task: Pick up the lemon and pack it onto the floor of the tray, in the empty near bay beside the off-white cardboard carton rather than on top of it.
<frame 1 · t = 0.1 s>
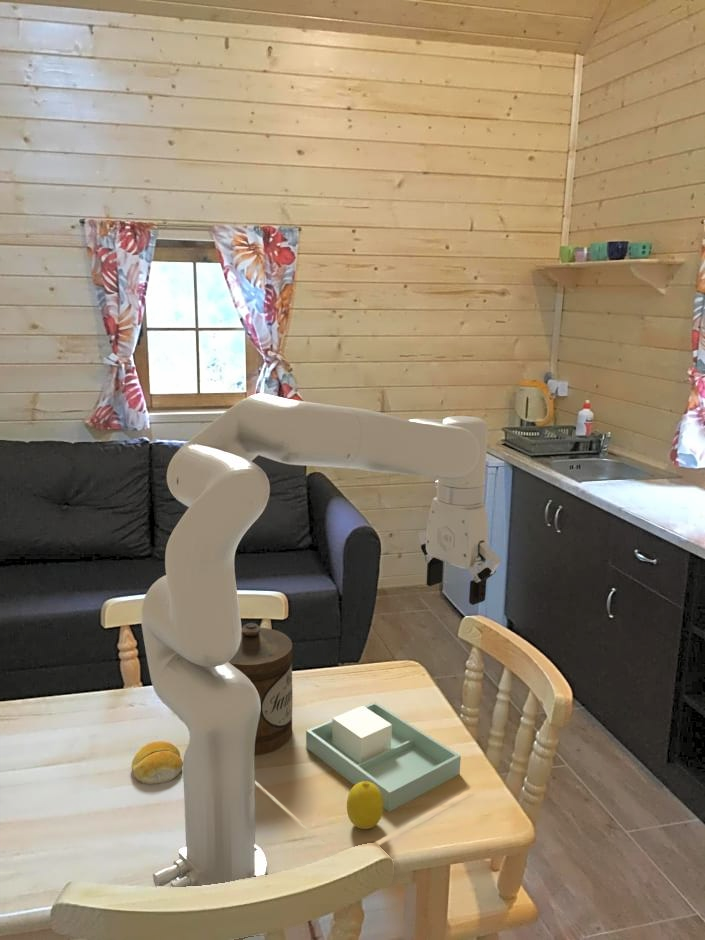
hand: (455, 593, 133), 31 cm above the table, fingers open, 9 cm apart
tray: (381, 763, 139), on the table
lemon: (364, 829, 122), on the table
carton: (361, 746, 142), point 1 cm above the table, touching tray
bread roll: (158, 771, 136), on the table
wooden container: (251, 736, 146), on the table
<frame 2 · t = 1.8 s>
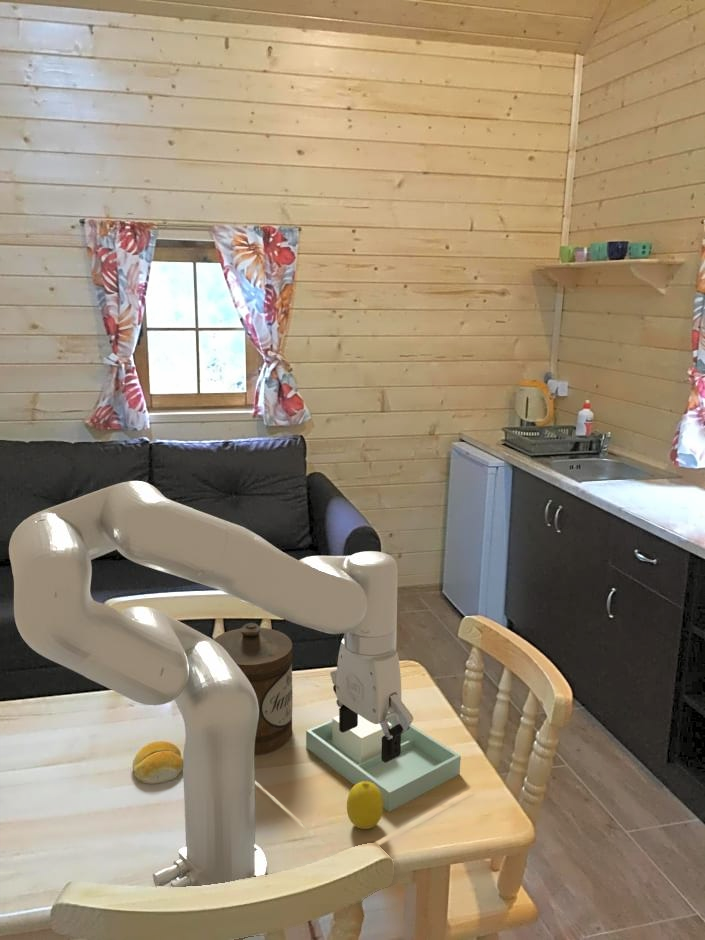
hand: (369, 743, 119), 14 cm above the table, fingers open, 9 cm apart
nothing on the table moved.
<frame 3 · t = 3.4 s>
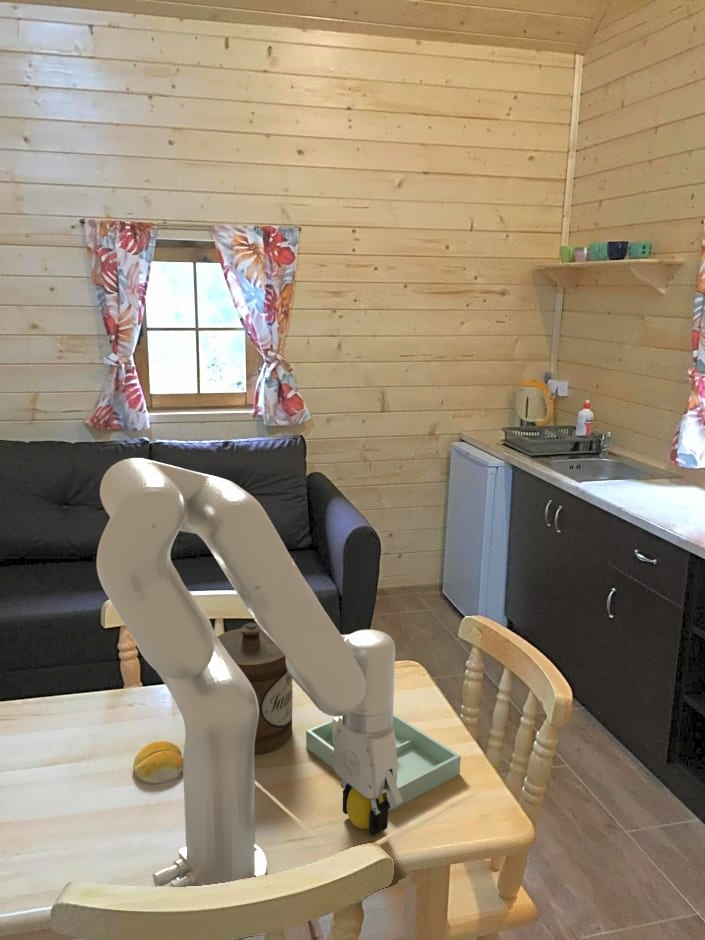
hand: (364, 819, 122), 2 cm above the table, fingers closed on lemon, 5 cm apart
lemon: (364, 829, 122), on the table, touching gripper
everything else where it was.
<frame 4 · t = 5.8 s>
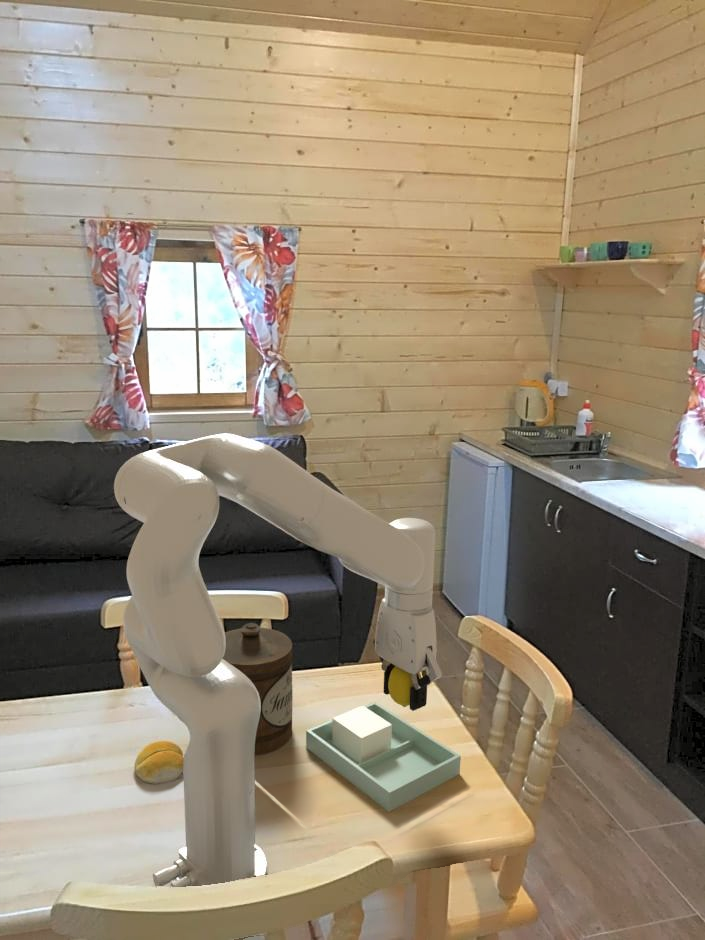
hand: (404, 698, 131), 15 cm above the table, fingers closed on lemon, 5 cm apart
lemon: (404, 707, 131), point 13 cm above the table, touching gripper
everything else where it was.
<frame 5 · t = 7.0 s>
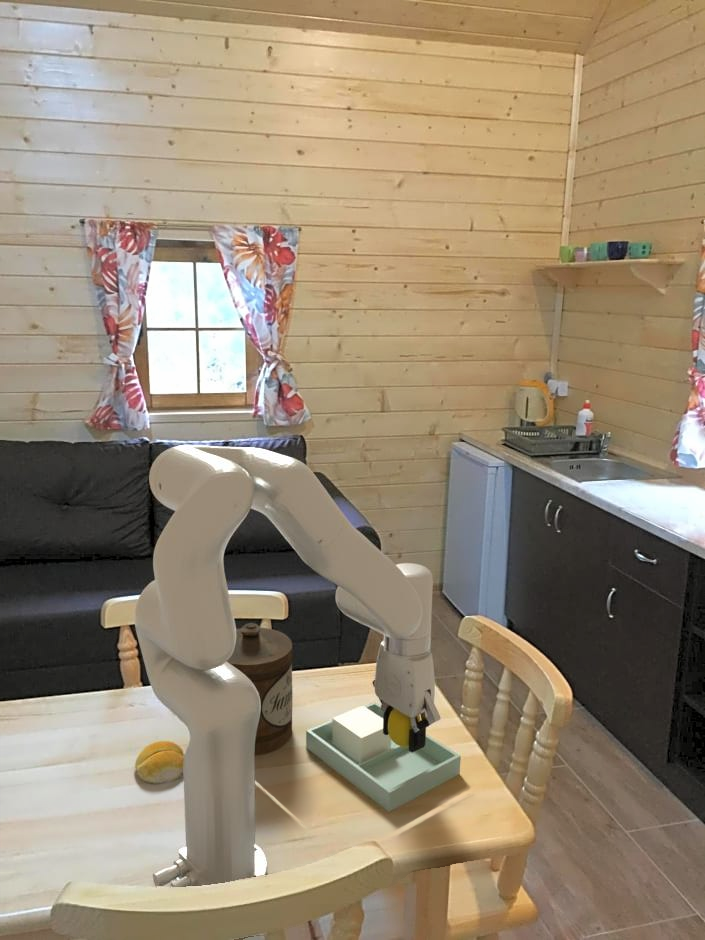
hand: (403, 739, 133), 7 cm above the table, fingers closed on lemon, 5 cm apart
lemon: (403, 748, 133), point 6 cm above the table, touching gripper
everything else where it was.
when the fingers open (4 cm above the table, at t = 8.0 s): lemon drops 2 cm, resting on tray.
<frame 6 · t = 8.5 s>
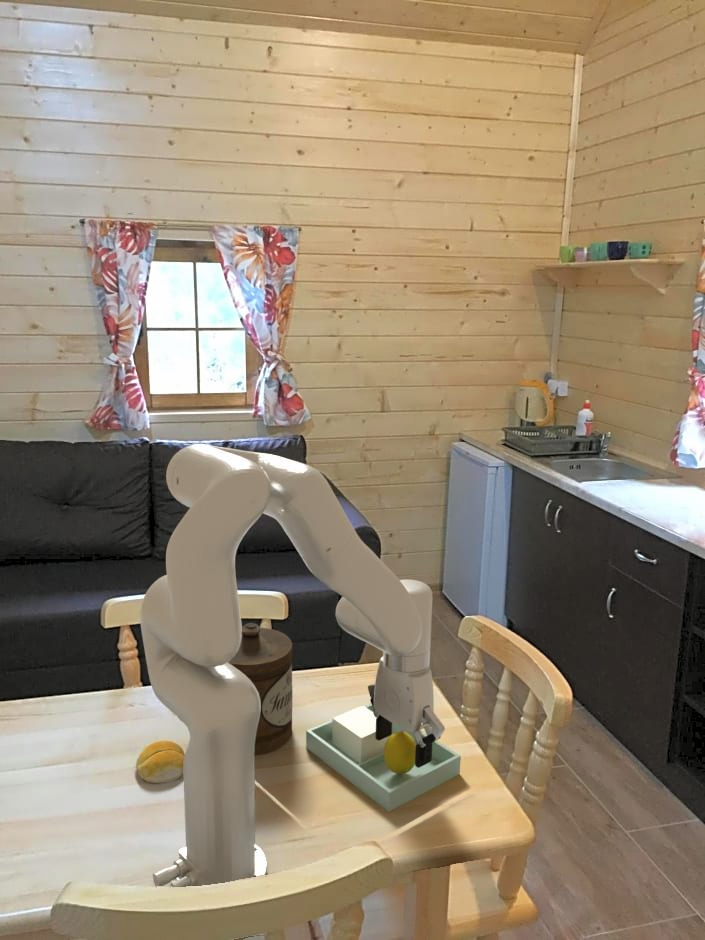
hand: (402, 750, 133), 5 cm above the table, fingers open, 9 cm apart
lemon: (399, 775, 135), resting on tray
everything else where it was.
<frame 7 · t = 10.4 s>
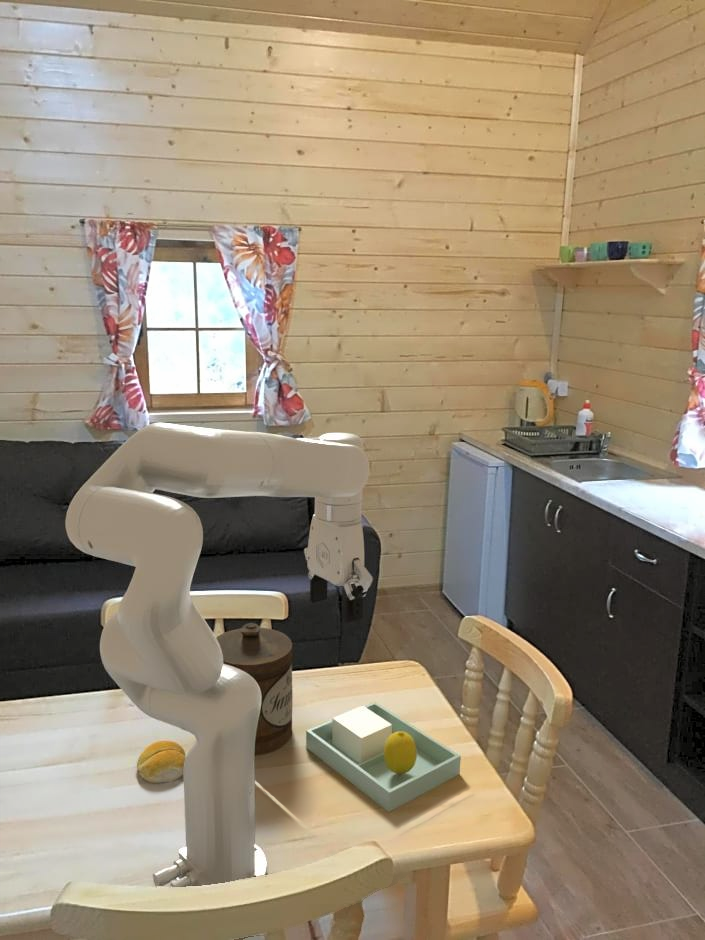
hand: (335, 610, 132), 28 cm above the table, fingers open, 9 cm apart
nothing on the table moved.
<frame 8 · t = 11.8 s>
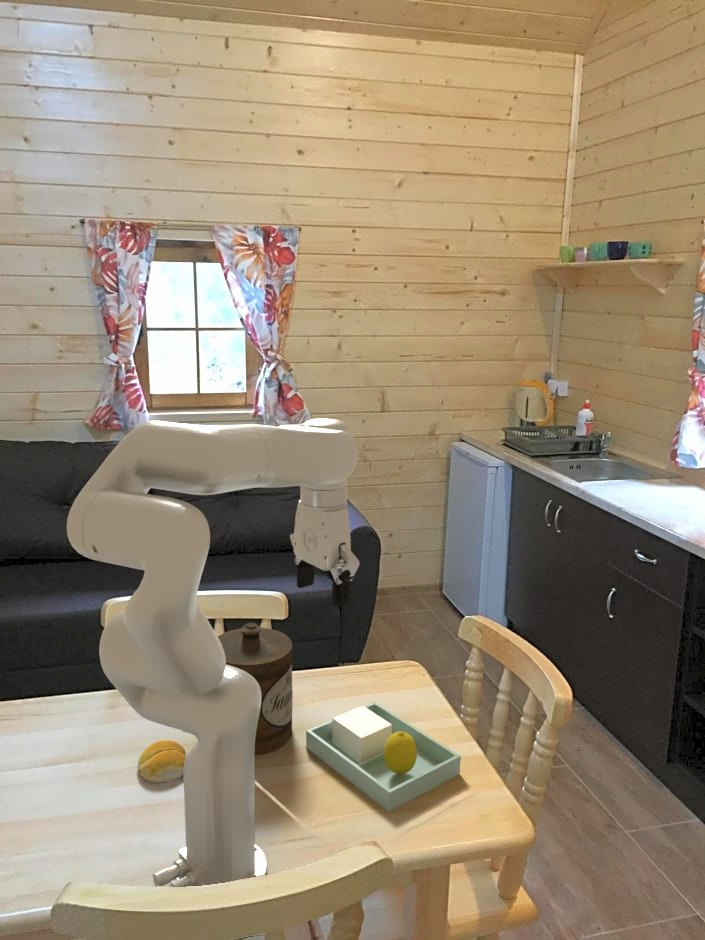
hand: (322, 594, 133), 30 cm above the table, fingers open, 9 cm apart
at the end: lemon inside the target area on the tray (0.4 cm from its centre), point 0.4 cm above the tray's base; carton moved 0.0 cm from its start; the gripper is holding nothing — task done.
